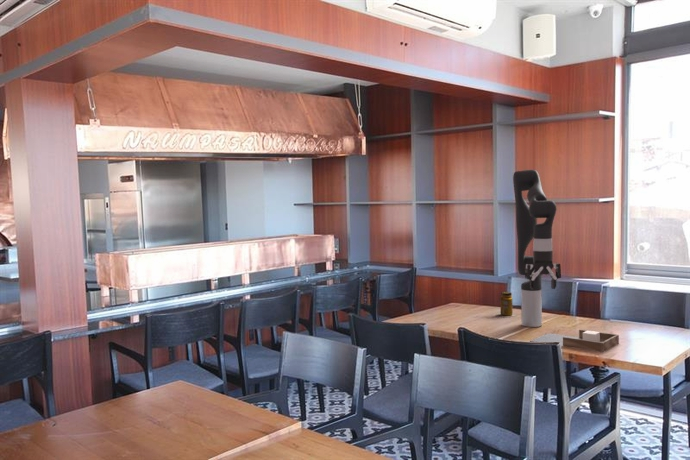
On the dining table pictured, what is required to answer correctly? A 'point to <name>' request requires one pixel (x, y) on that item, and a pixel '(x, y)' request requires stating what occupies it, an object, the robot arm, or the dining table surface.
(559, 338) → the slate board
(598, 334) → the cream cube
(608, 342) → the tray
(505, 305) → the condiment
